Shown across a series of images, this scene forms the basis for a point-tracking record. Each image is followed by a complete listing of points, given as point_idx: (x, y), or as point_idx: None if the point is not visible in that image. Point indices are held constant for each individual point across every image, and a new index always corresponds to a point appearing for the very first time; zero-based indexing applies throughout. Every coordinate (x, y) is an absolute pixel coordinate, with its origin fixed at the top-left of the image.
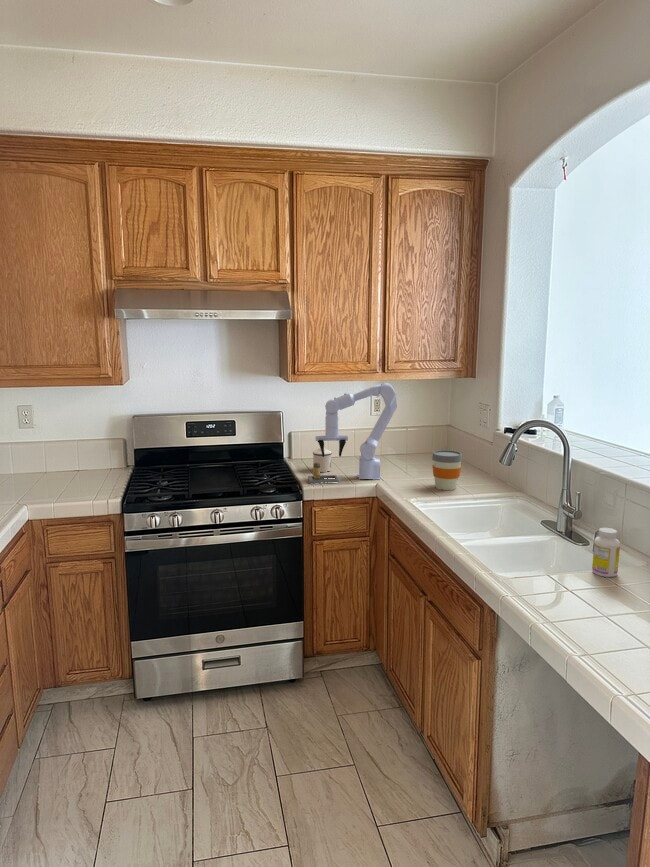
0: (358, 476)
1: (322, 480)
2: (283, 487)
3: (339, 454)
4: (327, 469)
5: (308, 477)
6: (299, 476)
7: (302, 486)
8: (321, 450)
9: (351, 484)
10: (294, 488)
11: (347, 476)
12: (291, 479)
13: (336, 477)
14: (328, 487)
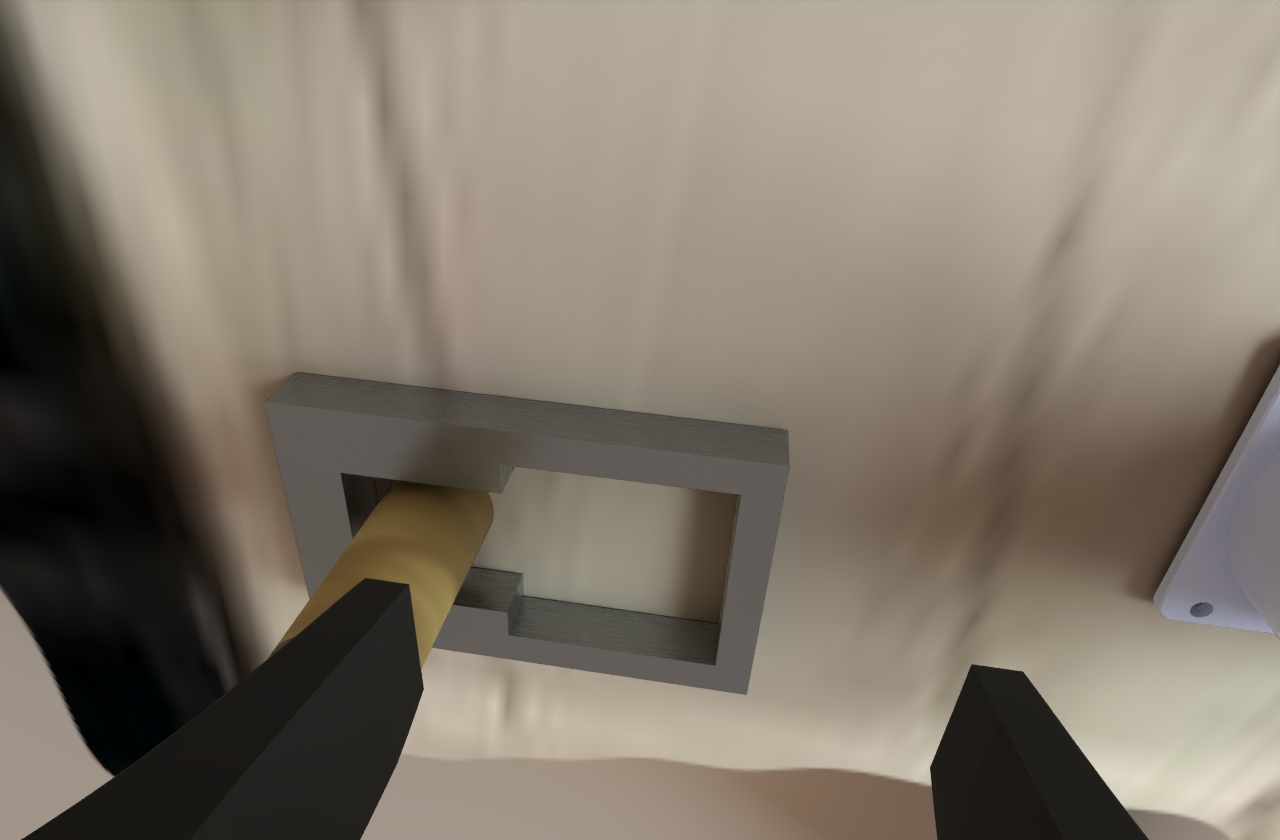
0: (1237, 481)
1: (504, 652)
2: (59, 638)
3: (951, 814)
4: None
5: (288, 497)
6: (121, 145)
7: (267, 655)
8: (213, 735)
9: (903, 730)
10: (190, 694)
11: (1064, 329)
12: (40, 323)
13: (744, 595)
14: (574, 753)
